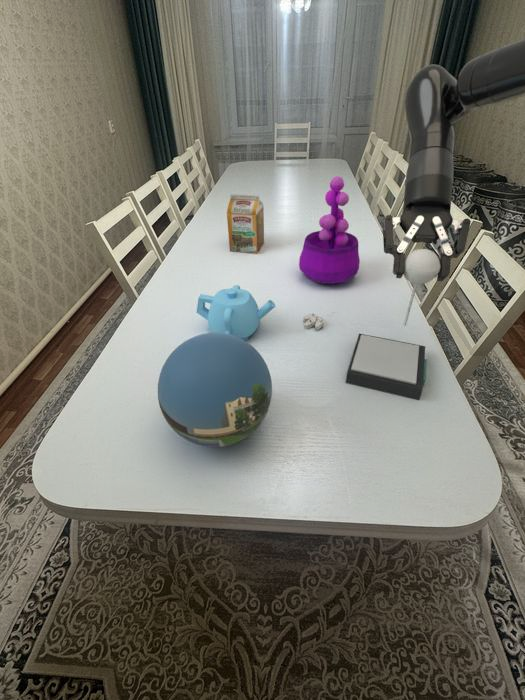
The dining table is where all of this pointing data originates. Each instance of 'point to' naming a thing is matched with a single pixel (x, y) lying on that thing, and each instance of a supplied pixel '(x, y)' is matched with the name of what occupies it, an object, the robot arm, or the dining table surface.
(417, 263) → the lollipop
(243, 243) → the milk carton
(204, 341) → the decorative sphere
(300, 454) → the dining table surface
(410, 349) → the scale
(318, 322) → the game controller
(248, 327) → the teapot
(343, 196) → the decorative plant
